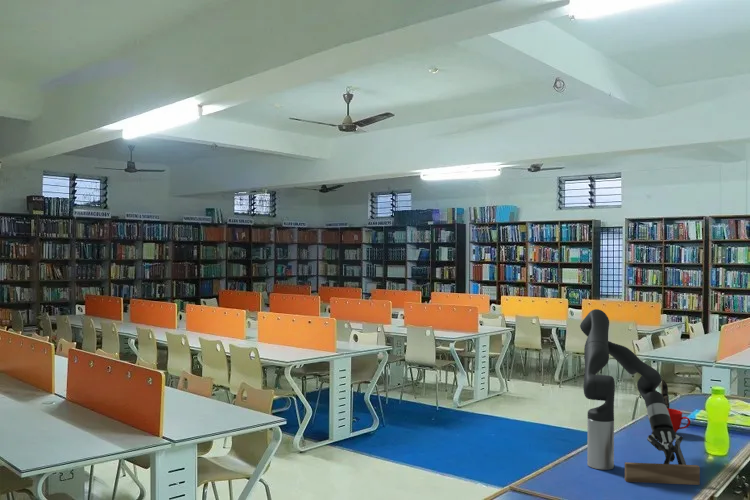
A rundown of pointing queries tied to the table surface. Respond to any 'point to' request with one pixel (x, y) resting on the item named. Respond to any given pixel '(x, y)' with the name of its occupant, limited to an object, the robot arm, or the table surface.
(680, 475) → the board
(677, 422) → the ceramic cup
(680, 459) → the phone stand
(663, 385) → the statue
